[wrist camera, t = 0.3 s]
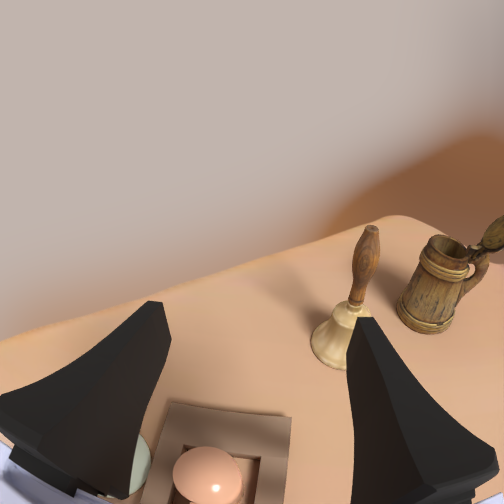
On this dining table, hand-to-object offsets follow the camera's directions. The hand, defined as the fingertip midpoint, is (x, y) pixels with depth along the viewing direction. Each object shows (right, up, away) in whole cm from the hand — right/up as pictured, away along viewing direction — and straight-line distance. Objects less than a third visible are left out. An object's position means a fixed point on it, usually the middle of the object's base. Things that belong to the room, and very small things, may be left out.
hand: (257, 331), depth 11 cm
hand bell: (+11, -8, +24) cm, 28 cm away
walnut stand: (-3, -18, +10) cm, 21 cm away
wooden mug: (+27, -6, +26) cm, 38 cm away
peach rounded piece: (-4, -19, +8) cm, 21 cm away
